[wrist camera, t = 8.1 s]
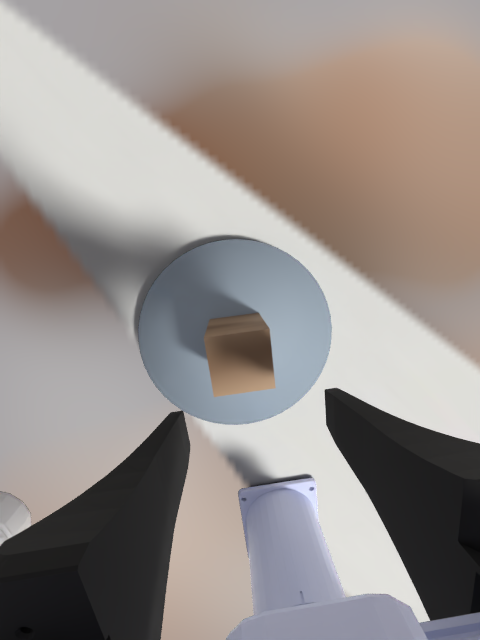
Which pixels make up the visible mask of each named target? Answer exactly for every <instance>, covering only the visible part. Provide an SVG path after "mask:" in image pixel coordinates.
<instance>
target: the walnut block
mask: <svg viewBox="0 0 480 640" xmlns="http://www.w3.org/2000/svg"><path fill="white" fill-rule="evenodd" d="M204 342H205V348H206V354H207V360H208V366H209V371H210V377H211V383H212V389H213V395H214V397H219V396H225V395H232V394H239V393H246V392H253V391H260V390H267V389H274V388H276V387H275V377H274V367H273V357H272V347H271V337H270V329H269V327H268V326H267V324H266V323H265V321H264V320H263V318H262V317H261V315H260V314H259V313H252V314H244V315H237V316H229V317H222V318H215V319H209V323H208V326H207V329H206V332H205V336H204Z"/></svg>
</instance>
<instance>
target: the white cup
mask: <svg viewBox="0 0 480 640" xmlns="http://www.w3.org/2000/svg"><path fill="white" fill-rule="evenodd" d="M30 526H31V513H30V511H29V509H28V508H27V506H26V505H25V504H24V502H23V501H21V500H20V499H18V498H17V497H15V496H13V495H12V494H10V493H6V492H1V491H0V546H1V544H2V543H3V542H4V541H5V540H7V539H9V538H11V537H13V536H15V535H16V534H18V533H20V532H21V531H23V530H25V529H27V528H28V527H30Z"/></svg>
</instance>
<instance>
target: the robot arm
mask: <svg viewBox="0 0 480 640" xmlns="http://www.w3.org/2000/svg"><path fill="white" fill-rule="evenodd" d="M325 406H326V425H327V427H328V429H329V431H330V433H331V435H332V437H333V439H334V441H335V443H336V445H337V447H338V448H339V450H340V451H341V453H342V455H343V456H344V458H345V459H346V461H347V462H348V464H349V466H350V467H351V469H352V470H353V472H354V473H355V475H356V476H357V478H358V479H359V481H360V483H361V484H362V486H363V487H364V489H365V491H366V492H367V494H368V496H369V497H370V499H371V501H372V503H373V505H374V506H375V508H376V510H377V512H378V514H379V516H380V518H381V520H382V522H383V524H384V525H385V527H386V529H387V531H388V533H389V535H390V537H391V539H392V541H393V543H394V545H395V547H396V549H397V551H398V553H399V555H400V557H401V559H402V561H403V563H404V566H405V568H406V570H407V572H408V574H409V576H410V578H411V580H412V582H413V584H414V586H415V588H416V590H417V593H418V595H419V597H420V599H421V601H422V603H423V606H424V608H425V610H426V612H427V614H428V616H429V619H430V621H427V622H422V623H419V622H418V620H417V618H416V617H415V615H414V613H413V611H412V609H411V607H410V606H408V605H406V604H405V603H403V602H401V601H399V600H397V599H396V598H394V597H392V596H390V595H388V594H363V595H357V596H352V597H346V596H345V593H344V590H343V587H342V585H341V582H340V579H339V576H338V573H337V571H336V568H335V565H334V562H333V560H332V557H331V554H330V551H329V549H328V546H327V543H326V540H325V537H324V535H323V532H322V529H321V526H320V524H319V521H318V505H317V489H316V482H315V480H314V479H313V478H306V479H300V480H293V481H287V482H280V483H274V484H268V485H261V486H255V487H248V488H242V489H240V490H239V492H238V496H239V502H240V509H241V515H242V521H243V527H244V533H245V539H246V545H247V552H248V557H249V559H250V572H251V586H252V599H253V611H254V615H253V616H251V617H248V618H245V619H243V620H242V621H241V622H240V623H239V624H238V625H237V626H236V627H235V628H234V629H233V630H232V631H231V632H230V633H229V635H228V636H227V638H226V640H480V444H479V443H475V442H471V441H467V440H463V439H459V438H456V437H452V436H449V435H446V434H442V433H439V432H436V431H433V430H430V429H427V428H424V427H421V426H418V425H415V424H413V423H410V422H407V421H405V420H402V419H400V418H398V417H395V416H393V415H391V414H389V413H386V412H384V411H382V410H380V409H378V408H376V407H374V406H372V405H370V404H368V403H366V402H364V401H362V400H360V399H358V398H356V397H354V396H352V395H350V394H348V393H346V392H344V391H342V390H340V389H338V388H332V389H326V390H325ZM189 454H190V441H189V437H188V432H187V427H186V423H185V418H184V413H183V411H178V412H171V413H170V414H169V415H168V416H167V417H166V418H165V419H164V420H163V421H162V423H161V424H160V425H159V426H158V427H157V428H156V429H155V430H154V431H153V432H152V433H151V434H150V436H149V437H148V438H147V439H146V440H145V441H144V442H143V443H142V444H141V445H140V446H139V447H138V448H137V449H136V450H135V451H134V452H133V453H132V454H131V455H130V456H129V457H127V458H126V459H125V460H124V461H123V462H122V463H121V464H120V465H118V466H117V467H116V468H115V469H114V470H113V471H111V472H110V473H109V474H108V475H107V476H105V477H104V478H103V479H101V480H100V481H99V482H97V483H96V484H95V485H93V486H92V487H91V488H89V489H88V490H86V491H85V492H84V493H82V494H81V495H80V496H78V497H77V498H75V499H74V500H72V501H71V502H69V503H68V504H66V505H65V506H63V507H62V508H60V509H59V510H57V511H55V512H54V513H52V514H51V515H49V516H47V517H46V518H44V519H42V520H41V521H39V522H37V523H36V524H34V525H32V526H30V527H28V528H27V529H25V530H23V531H21V532H20V533H18V534H16V535H15V536H13V537H11V538H9V539H7V540H5V541H4V542H3V543H2V544H1V546H0V640H160V639H161V630H162V621H163V612H164V603H165V594H166V585H167V578H168V570H169V562H170V554H171V548H172V541H173V533H174V528H175V522H176V517H177V513H178V509H179V504H180V500H181V496H182V492H183V487H184V483H185V478H186V474H187V469H188V463H189ZM243 497H245V498H243Z"/></svg>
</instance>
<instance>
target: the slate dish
mask: <svg viewBox="0 0 480 640" xmlns="http://www.w3.org/2000/svg"><path fill="white" fill-rule="evenodd" d="M252 313H259V314H260V315H261V317H262V318H263V320H264V321H265V323H266V324H267V326H268V327H269V329H270V337H271V347H272V357H273V367H274V377H275V387H276V388H274V389H267V390H260V391H253V392H246V393H239V394H232V395H225V396H219V397H214V395H213V389H212V383H211V377H210V371H209V366H208V360H207V354H206V348H205V342H204V336H205V332H206V329H207V326H208V323H209V319H215V318H222V317H229V316H237V315H244V314H252ZM331 332H332V326H331V316H330V312H329V308H328V304H327V301H326V299H325V296H324V294H323V291H322V290H321V288H320V286H319V284H318V283H317V281H316V280H315V278H314V277H313V276H312V274H311V273H310V272H309V271H308V270H307V269H306V268H305V267H304V266H303V265H302V264H301V263H300V262H299V261H298V260H296V259H295V258H293V257H292V256H291V255H289V254H288V253H286V252H284V251H282V250H280V249H278V248H276V247H274V246H271V245H268V244H265V243H262V242H257V241H252V240H242V239H231V240H220V241H215V242H210V243H207V244H204V245H201V246H199V247H196V248H194V249H192V250H190V251H188V252H186V253H184V254H183V255H181V256H180V257H179V258H177V259H176V260H174V261H173V262H172V263H171V264H170V265H169V266H168V267H166V268H165V269H164V270H163V271H162V273H161V274H160V275H159V276H158V278H157V279H156V280H155V281H154V283H153V285H152V286H151V288H150V290H149V291H148V293H147V296H146V298H145V301H144V303H143V306H142V310H141V314H140V318H139V327H138V339H139V347H140V353H141V357H142V360H143V363H144V366H145V368H146V370H147V372H148V374H149V377H150V378H151V380H152V381H153V383H154V384H155V386H156V387H157V388H158V390H159V391H160V392H161V393H162V394H163V395H164V396H165V397H166V398H167V399H168V400H169V401H170V402H171V403H173V404H174V405H175V406H177V407H178V408H180V409H181V410H183V411H184V412H186V413H188V414H190V415H192V416H194V417H197V418H199V419H202V420H205V421H209V422H213V423H220V424H233V425H238V424H249V423H254V422H258V421H262V420H265V419H268V418H271V417H273V416H275V415H277V414H280V413H282V412H283V411H285V410H287V409H288V408H290V407H291V406H293V405H294V404H295V403H296V402H298V401H299V400H300V399H301V398H302V397H303V396H304V395H305V394H306V393H307V392H308V391H309V390H310V389H311V387H312V386H313V385H314V384H315V382H316V381H317V379H318V377H319V376H320V374H321V372H322V370H323V368H324V365H325V363H326V360H327V357H328V354H329V350H330V344H331Z"/></svg>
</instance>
